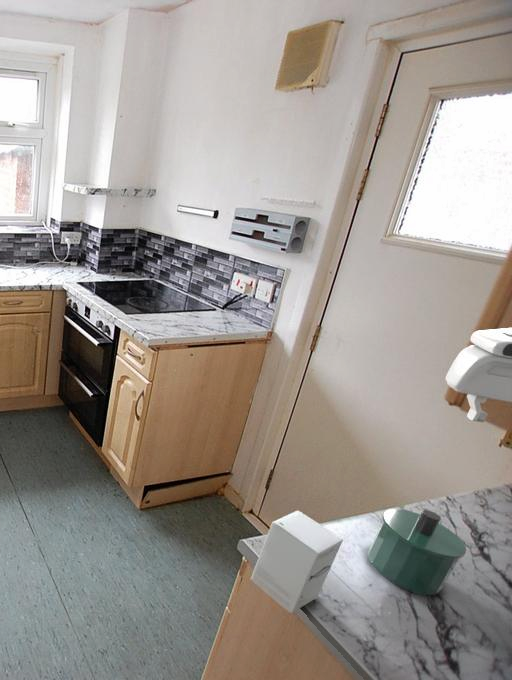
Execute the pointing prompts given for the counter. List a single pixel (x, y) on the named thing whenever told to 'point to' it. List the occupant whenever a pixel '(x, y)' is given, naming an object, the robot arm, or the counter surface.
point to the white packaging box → (295, 560)
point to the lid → (424, 532)
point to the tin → (408, 564)
